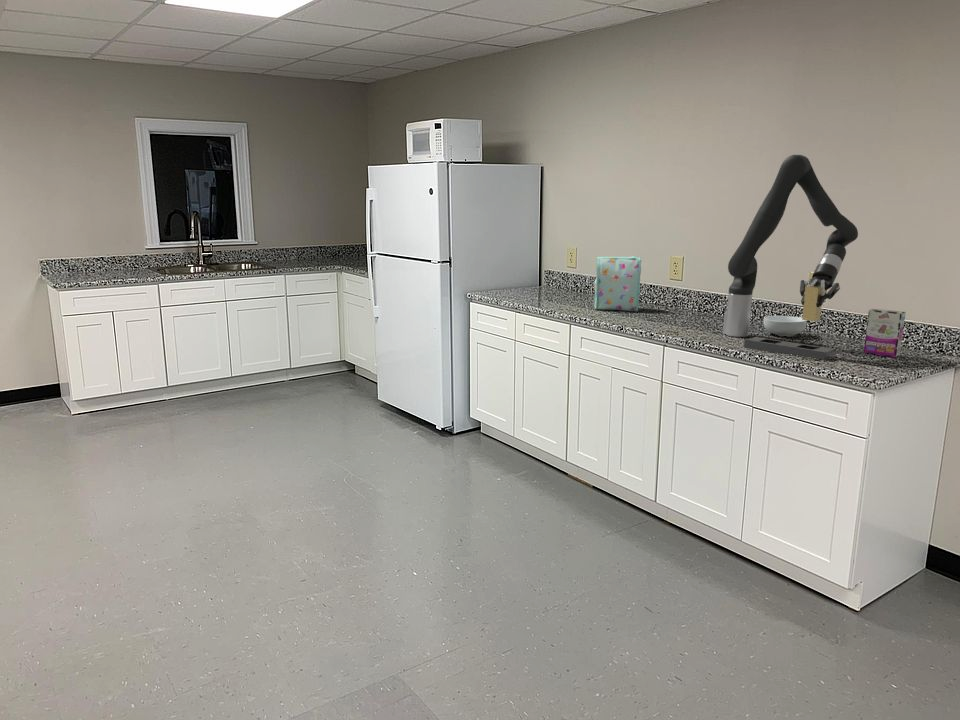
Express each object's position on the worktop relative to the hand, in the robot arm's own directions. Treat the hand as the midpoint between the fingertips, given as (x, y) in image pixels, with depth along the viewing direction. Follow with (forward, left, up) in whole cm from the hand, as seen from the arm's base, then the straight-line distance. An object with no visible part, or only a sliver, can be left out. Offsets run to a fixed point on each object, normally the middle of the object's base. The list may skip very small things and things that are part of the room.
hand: (810, 304), depth 263 cm
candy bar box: (+18, +24, -19) cm, 35 cm away
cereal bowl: (-24, +35, -19) cm, 47 cm away
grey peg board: (-6, 0, -18) cm, 19 cm away
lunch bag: (-113, +39, -19) cm, 121 cm away
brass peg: (0, +2, -6) cm, 6 cm away
